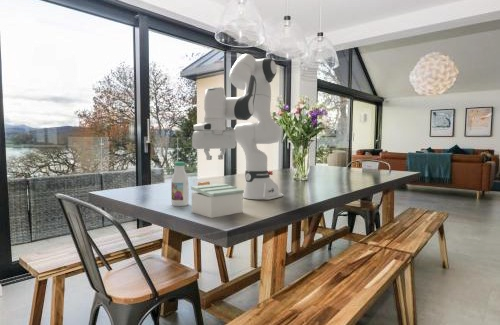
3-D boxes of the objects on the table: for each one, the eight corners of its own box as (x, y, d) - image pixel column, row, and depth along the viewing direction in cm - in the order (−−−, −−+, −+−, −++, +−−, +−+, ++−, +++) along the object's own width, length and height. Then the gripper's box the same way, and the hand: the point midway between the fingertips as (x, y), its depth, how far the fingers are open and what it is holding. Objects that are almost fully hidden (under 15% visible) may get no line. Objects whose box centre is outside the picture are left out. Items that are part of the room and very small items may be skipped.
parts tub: (222, 207, 147) (222, 189, 147) (242, 212, 137) (242, 193, 136) (191, 212, 137) (191, 193, 136) (211, 217, 126) (211, 197, 126)
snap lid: (217, 184, 150) (217, 180, 149) (244, 193, 136) (244, 188, 136) (186, 187, 139) (186, 182, 138) (212, 197, 125) (212, 192, 125)
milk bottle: (181, 202, 157) (181, 161, 156) (192, 204, 152) (191, 161, 151) (168, 205, 151) (167, 161, 150) (178, 207, 146) (178, 162, 145)
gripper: (230, 127, 145) (229, 158, 146) (189, 125, 131) (190, 160, 132) (239, 127, 140) (239, 159, 141) (198, 125, 126) (198, 160, 127)
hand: (215, 159), depth 136 cm, fingers open, 4 cm apart
